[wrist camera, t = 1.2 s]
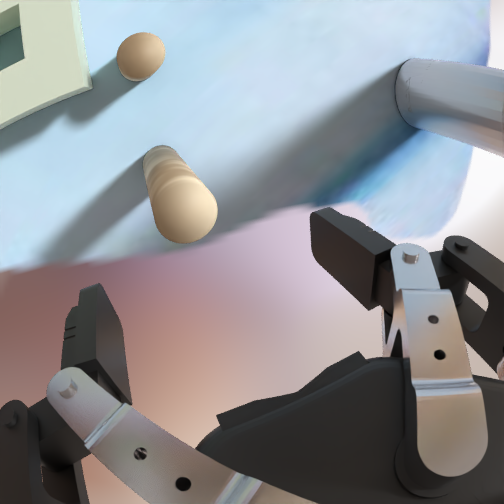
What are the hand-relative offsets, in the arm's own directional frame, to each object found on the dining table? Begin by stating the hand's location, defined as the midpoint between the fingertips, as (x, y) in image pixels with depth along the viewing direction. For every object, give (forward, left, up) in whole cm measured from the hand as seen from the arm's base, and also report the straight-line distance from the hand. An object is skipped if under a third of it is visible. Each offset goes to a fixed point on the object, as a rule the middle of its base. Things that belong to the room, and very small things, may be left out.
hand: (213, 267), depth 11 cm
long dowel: (0, 0, -17) cm, 17 cm away
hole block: (+10, -14, -17) cm, 24 cm away
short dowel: (0, -9, -17) cm, 19 cm away
